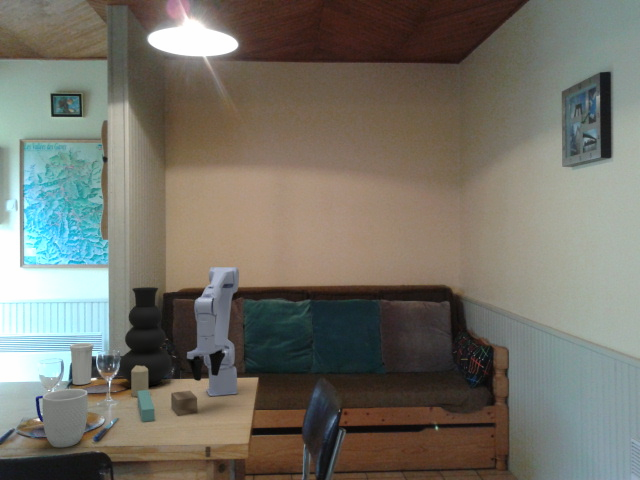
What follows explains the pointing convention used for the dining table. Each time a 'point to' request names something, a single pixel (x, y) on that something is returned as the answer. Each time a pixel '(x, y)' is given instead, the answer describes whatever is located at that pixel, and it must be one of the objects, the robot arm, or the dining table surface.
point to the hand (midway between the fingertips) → (206, 377)
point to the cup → (81, 362)
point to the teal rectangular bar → (145, 406)
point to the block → (184, 403)
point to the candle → (139, 380)
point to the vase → (146, 338)
